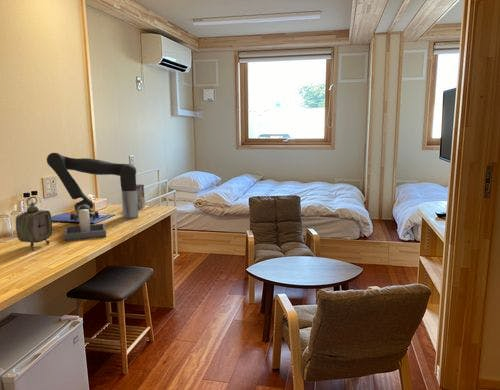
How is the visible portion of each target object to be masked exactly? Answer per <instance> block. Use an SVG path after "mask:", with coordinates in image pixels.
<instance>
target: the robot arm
mask: <svg viewBox="0 0 500 390" xmlns="http://www.w3.org/2000/svg"><path fill="white" fill-rule="evenodd" d="M46 163H47V165H48V166H49V167H50V168H51V169H52V170H53V171H54V172H55V174H56V175H57V177H58V179H59V180H60V181H61V184H62V185H63V186H64V188H65V190H66V192H67V193H68V195H69V196H70V197H71V199H72V200H77V199H82V200H80V201H78V202H76V203H75V204H74V206H73V207H74V210H75V212H76V213H74V212H71V213H70V216H69V217H70V221H74V222H78V221H79V210H81V209H89V216H90V220H91V219H92V221H94V220H96V219H98V218H99V215H100V214H99V212H98V211H94V212H92V209H93V207H94V203H93V201H92V200H91V199H90V198H89V197H87V195H86V194H85V193H84V192H83V191H82V189H81V188H80V186H79V184H78V183H77V182H76V179H74V178H73V176H72V175H71V173H70V172H69V171H68V170H70V171H75V172H80V173H82V174H83V173H84V174H89V175H97V176H108V175H109V176H110V175H114V176H118V177H119V179H120V189H121V205H122V206H121V207H122V209H121V210H122V218H123V219H134V218H139V210H138V202H137V186H136V185H137V168H136V167H135V166H134V165H133V164H130V163H118V162H117V163H115V162H110V161H107V160H106V161H105V160H100V159H94V158H87V157H86V158H84V157H83V158H74V157H68V156H65V155H62V154H60V153H59V152H51V153H49V154H48V155H47V157H46Z"/></svg>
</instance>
